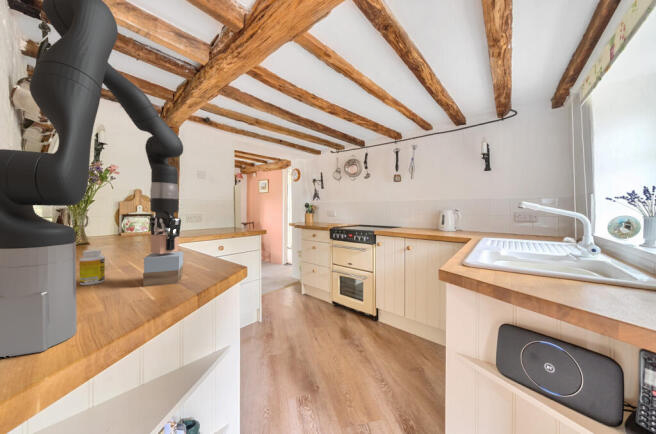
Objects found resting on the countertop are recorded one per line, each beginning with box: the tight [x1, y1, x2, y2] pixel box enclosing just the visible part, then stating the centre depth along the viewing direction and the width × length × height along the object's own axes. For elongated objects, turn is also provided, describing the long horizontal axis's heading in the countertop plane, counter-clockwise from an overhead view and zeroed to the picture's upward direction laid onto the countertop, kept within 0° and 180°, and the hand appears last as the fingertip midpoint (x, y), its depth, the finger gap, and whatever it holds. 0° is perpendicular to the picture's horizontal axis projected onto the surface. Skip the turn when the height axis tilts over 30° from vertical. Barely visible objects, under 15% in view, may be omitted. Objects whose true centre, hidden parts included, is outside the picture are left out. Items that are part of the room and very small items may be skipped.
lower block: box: [142, 264, 184, 288], centre depth 76 cm, size 9×9×4 cm
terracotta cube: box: [150, 233, 180, 254], centre depth 76 cm, size 6×6×6 cm
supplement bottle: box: [78, 249, 106, 286], centre depth 72 cm, size 6×6×10 cm
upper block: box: [143, 250, 184, 273], centre depth 76 cm, size 9×9×4 cm
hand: (164, 249), depth 76 cm, fingers closed on terracotta cube, 5 cm apart
